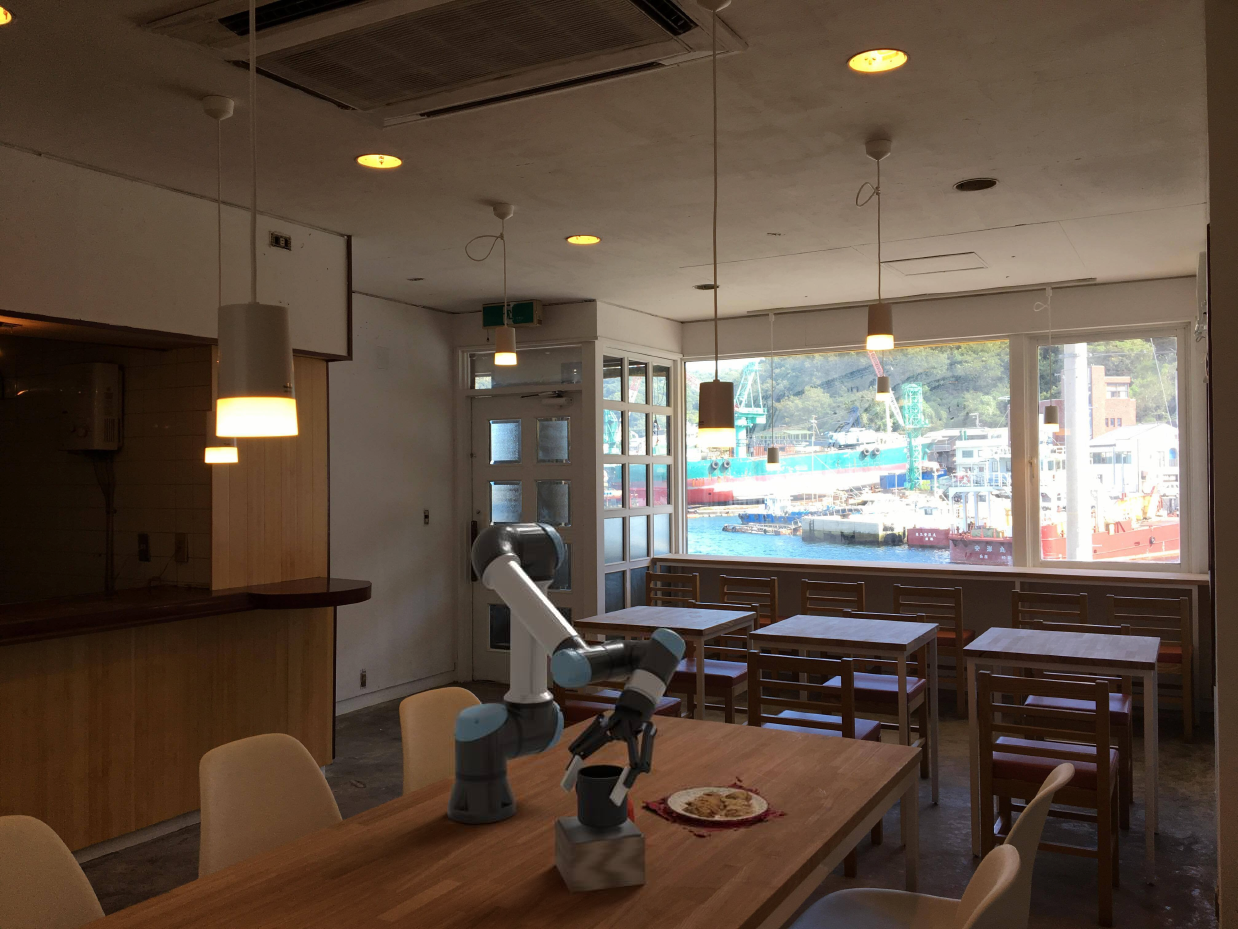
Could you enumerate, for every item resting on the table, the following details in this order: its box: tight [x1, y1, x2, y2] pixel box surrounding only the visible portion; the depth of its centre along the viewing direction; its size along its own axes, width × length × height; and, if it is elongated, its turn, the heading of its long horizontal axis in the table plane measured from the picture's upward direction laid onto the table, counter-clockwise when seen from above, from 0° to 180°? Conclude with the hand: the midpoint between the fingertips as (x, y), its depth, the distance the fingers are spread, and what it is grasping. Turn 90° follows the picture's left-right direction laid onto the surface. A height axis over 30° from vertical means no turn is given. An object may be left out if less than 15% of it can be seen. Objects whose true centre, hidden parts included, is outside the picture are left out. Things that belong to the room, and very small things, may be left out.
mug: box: [574, 764, 629, 828], centre depth 186 cm, size 9×12×9 cm
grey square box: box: [554, 815, 646, 893], centre depth 186 cm, size 14×14×9 cm
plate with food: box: [642, 775, 789, 837], centre depth 222 cm, size 25×26×4 cm
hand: (588, 795), depth 184 cm, fingers closed on mug, 12 cm apart
